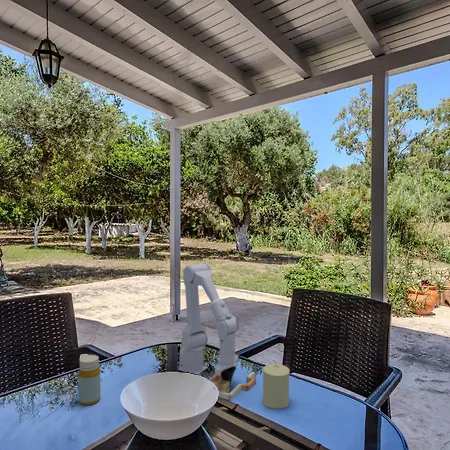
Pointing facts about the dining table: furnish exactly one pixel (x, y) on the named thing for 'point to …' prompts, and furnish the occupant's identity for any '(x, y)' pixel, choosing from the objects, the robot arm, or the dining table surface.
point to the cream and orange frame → (240, 387)
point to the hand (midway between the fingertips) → (226, 385)
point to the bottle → (89, 380)
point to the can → (276, 386)
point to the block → (223, 385)
